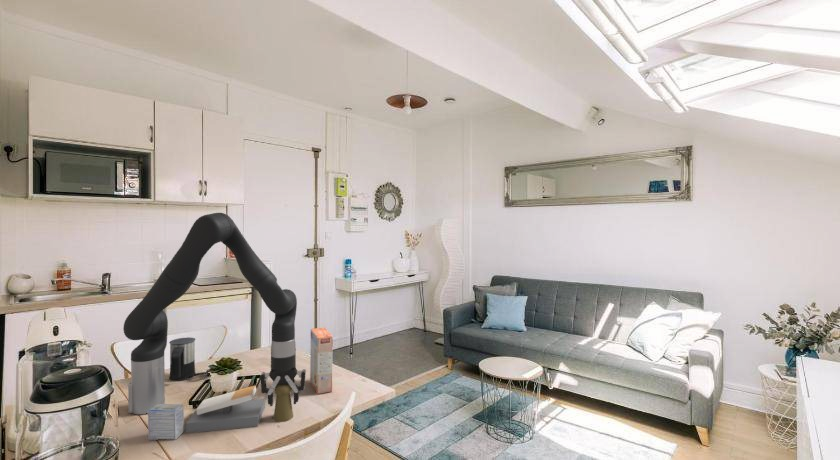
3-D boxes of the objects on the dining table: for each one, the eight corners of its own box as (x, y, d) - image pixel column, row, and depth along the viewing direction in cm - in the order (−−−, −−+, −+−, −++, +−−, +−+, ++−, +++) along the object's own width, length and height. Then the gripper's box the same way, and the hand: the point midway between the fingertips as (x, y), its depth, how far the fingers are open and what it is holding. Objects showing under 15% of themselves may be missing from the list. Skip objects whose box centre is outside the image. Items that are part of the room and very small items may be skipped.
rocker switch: (197, 414, 120) (196, 409, 120) (204, 404, 127) (203, 399, 127) (252, 399, 124) (250, 394, 124) (256, 390, 131) (255, 385, 130)
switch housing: (185, 433, 117) (185, 416, 117) (200, 412, 130) (200, 397, 130) (257, 426, 121) (257, 410, 121) (265, 406, 134) (265, 392, 134)
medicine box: (184, 432, 118) (184, 403, 118) (175, 440, 114) (175, 410, 113) (157, 432, 118) (157, 403, 118) (147, 440, 113) (147, 410, 113)
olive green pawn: (286, 410, 131) (286, 378, 131) (297, 416, 128) (297, 382, 127) (269, 417, 127) (269, 383, 127) (280, 424, 123) (280, 389, 123)
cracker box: (333, 392, 146) (333, 335, 145) (316, 395, 143) (316, 337, 143) (325, 378, 159) (325, 326, 158) (309, 380, 156) (309, 328, 156)
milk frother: (169, 375, 161) (168, 339, 160) (212, 367, 169) (212, 333, 169) (169, 387, 149) (169, 348, 148) (216, 378, 157) (216, 341, 157)
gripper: (257, 358, 122) (257, 411, 122) (305, 355, 125) (305, 407, 125) (261, 350, 129) (261, 400, 129) (307, 347, 132) (307, 397, 132)
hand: (283, 403), depth 127 cm, fingers open, 6 cm apart
